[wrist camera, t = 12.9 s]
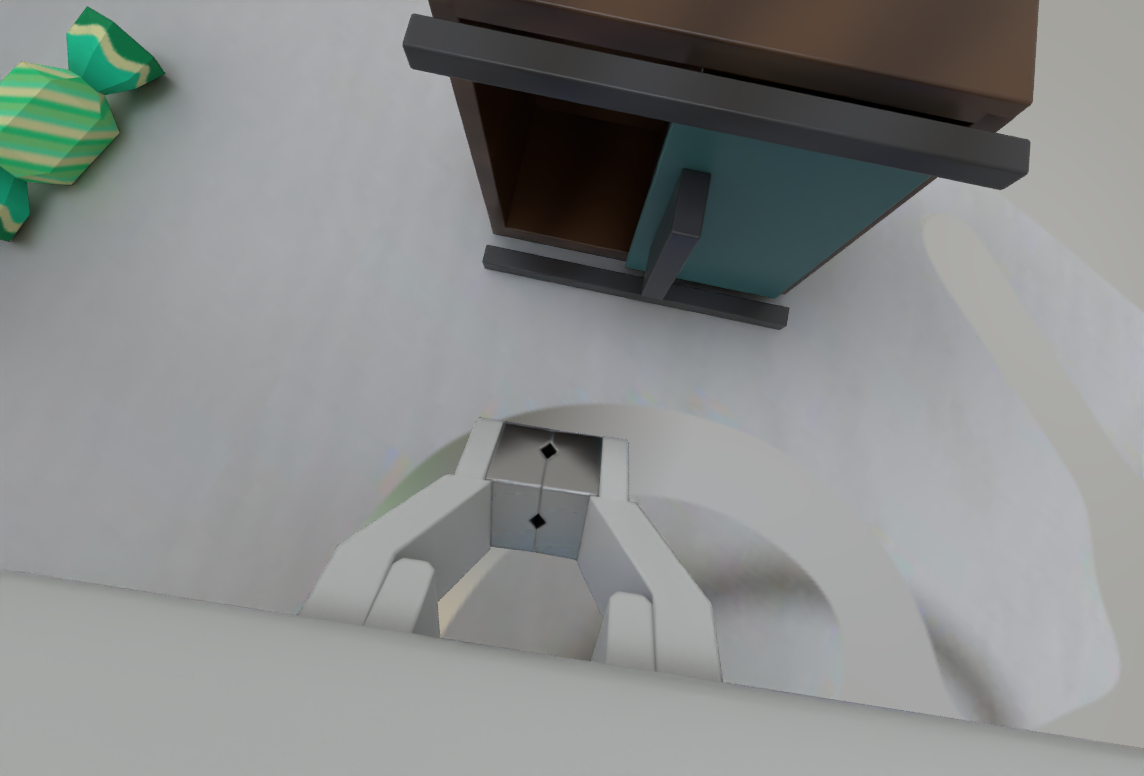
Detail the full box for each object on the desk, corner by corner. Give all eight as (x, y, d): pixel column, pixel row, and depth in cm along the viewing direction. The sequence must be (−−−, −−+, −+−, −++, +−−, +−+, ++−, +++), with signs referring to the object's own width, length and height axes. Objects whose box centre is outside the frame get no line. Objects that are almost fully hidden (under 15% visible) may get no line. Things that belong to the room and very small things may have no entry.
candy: (15, 251, 25) (-110, 189, 21) (14, 239, 27) (-99, 180, 24) (178, 78, 26) (85, -4, 23) (165, 79, 29) (78, 4, 25)
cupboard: (484, 268, 26) (400, 44, 12) (525, 104, 28) (492, -257, 14) (780, 330, 26) (1030, 174, 12) (804, 161, 28) (1049, -145, 14)
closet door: (615, 312, 25) (664, 178, 13) (626, 257, 25) (683, 81, 14) (768, 344, 25) (950, 236, 13) (776, 288, 25) (958, 137, 14)
